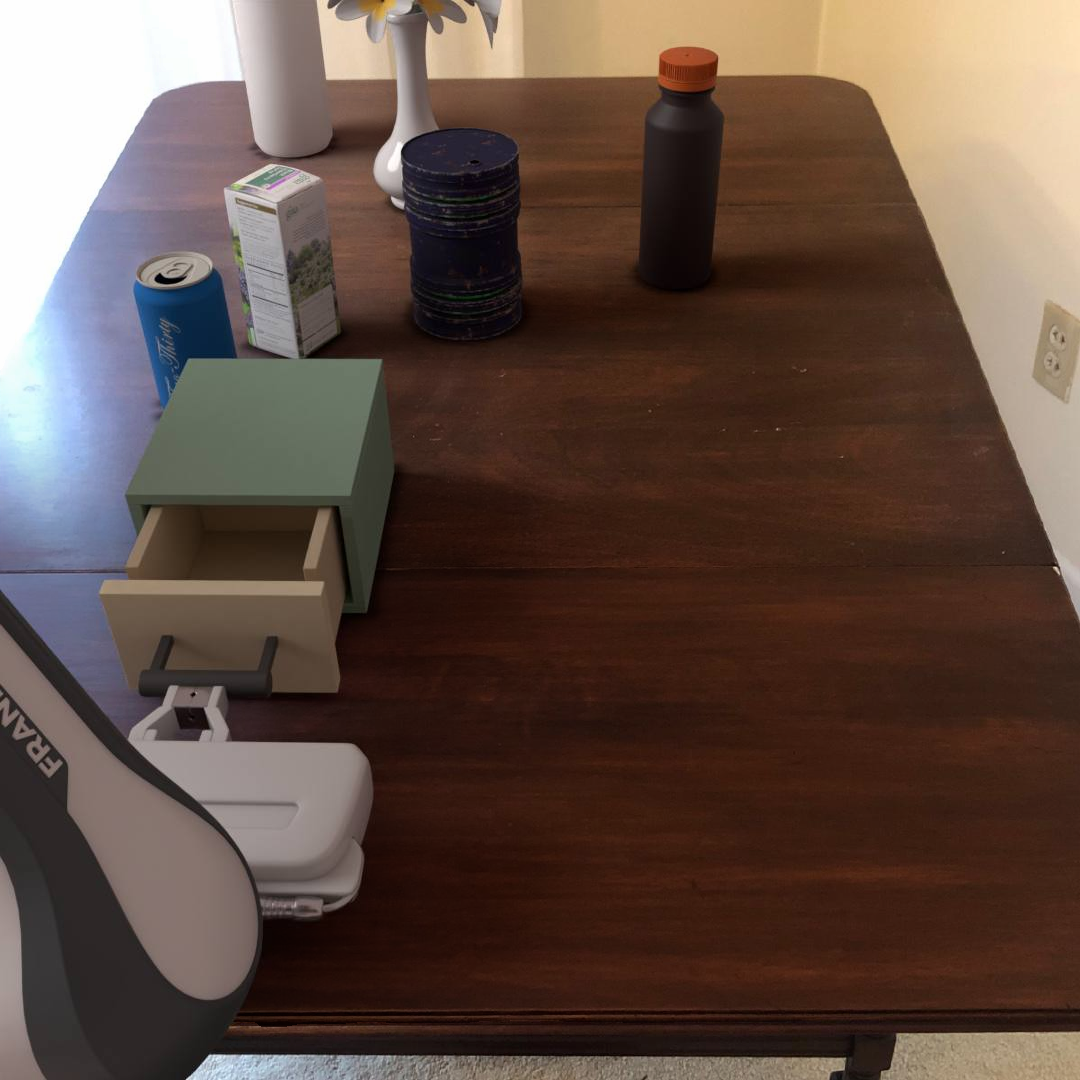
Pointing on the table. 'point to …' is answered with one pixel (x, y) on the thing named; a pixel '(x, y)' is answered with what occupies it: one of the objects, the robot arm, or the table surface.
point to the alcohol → (284, 75)
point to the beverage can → (181, 315)
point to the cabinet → (277, 447)
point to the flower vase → (409, 67)
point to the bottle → (681, 171)
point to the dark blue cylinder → (463, 231)
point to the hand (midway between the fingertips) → (200, 693)
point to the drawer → (231, 600)
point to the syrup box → (284, 260)
